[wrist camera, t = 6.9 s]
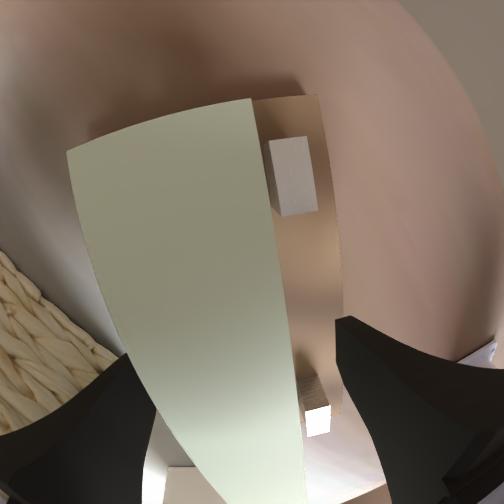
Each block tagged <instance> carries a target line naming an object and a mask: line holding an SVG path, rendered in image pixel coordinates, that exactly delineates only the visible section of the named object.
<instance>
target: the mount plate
mask: <svg viewBox="0 0 504 504" xmlns="http://www.w3.org/2000/svg"><path fill="white" fill-rule="evenodd" d="M252 106H253V112H254V117H255V122H256V127H257V133H258V138H259V143H260V149H261V147H262V146H263V145H264V144H266V143H267V142H268V141H271V140H278V139H285V138H293V137H302V136H307V141H308V146H309V152H310V158H311V164H312V170H313V176H314V183H315V190H316V197H317V204H318V211H313V212H307V213H301V214H295V215H290V216H284V217H281V216H280V215H279V214H278V213H277V212H276V211H275V210H274V209H273V208H272V207H271V212H272V218H273V225H274V231H275V237H276V243H277V250H278V256H279V263H280V270H281V276H282V283H283V290H284V297H285V304H286V311H287V318H288V326H289V333H290V341H291V348H292V356H293V364H294V372H295V380H296V379H298V378H303V377H307V376H311V375H315V374H318V376H319V379H320V381H321V384H322V386H323V389H324V392H325V394H326V397H327V399H328V402H329V404H330V416H333V415H336V414H340V413H341V409H342V391H343V381H342V378H341V376H340V373H339V370H338V367H337V365H336V342H335V319H339V318H343V292H342V273H341V258H340V245H339V234H338V224H337V214H336V205H335V197H334V189H333V182H332V175H331V168H330V162H329V156H328V150H327V144H326V138H325V133H324V127H323V122H322V117H321V112H320V107H319V103H318V98H317V94H313V95H299V96H287V97H277V98H268V99H261V100H253V101H252ZM261 154H262V152H261ZM262 160H263V157H262ZM263 166H264V163H263ZM264 171H265V168H264ZM265 177H266V174H265ZM266 183H267V179H266ZM267 189H268V185H267ZM268 194H269V191H268ZM269 200H270V197H269ZM270 206H271V203H270ZM296 389H297V381H296ZM297 397H298V390H297ZM298 406H299V398H298ZM299 415H300V424H301V423H304V421H303V417H302V414H301V410H300V406H299Z"/></svg>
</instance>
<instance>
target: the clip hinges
mask: <svg viewBox="0 0 504 504" xmlns="http://www.w3.org/2000/svg"><path fill="white" fill-rule="evenodd" d="M261 152H262V157H263V163H264V168H265V174H266V179H267V185H268V191H269V197H270V203H271V207H272V208H273V209H274V210H275V211H276V212H277V213H278V214H279V215H280V216H281V217H284V216H290V215H295V214H301V213H307V212H313V211H318V204H317V197H316V190H315V183H314V176H313V170H312V164H311V158H310V152H309V146H308V141H307V136H302V137H293V138H285V139H278V140H271V141H268V142H267V143H266V144H264V145H263V146H262V147H261ZM296 381H297V390H298V398H299V406H300V410H301V414H302V417H303V421H304V425H305V428H306V432H307V436H308V437H309V436H313V435H317V434H321V433H325V432H328V431H329V429H330V404H329V402H328V399H327V397H326V394H325V392H324V389H323V386H322V384H321V381H320V379H319V376H318V374H315V375H311V376H307V377H303V378H298V379H296Z"/></svg>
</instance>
